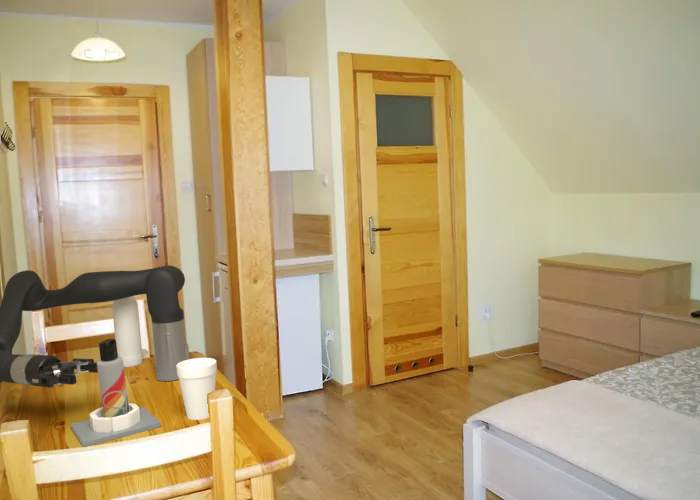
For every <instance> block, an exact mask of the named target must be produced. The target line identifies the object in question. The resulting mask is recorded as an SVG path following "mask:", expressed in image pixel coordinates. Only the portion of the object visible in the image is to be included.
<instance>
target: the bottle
mask: <svg viewBox="0 0 700 500" xmlns="http://www.w3.org/2000/svg"><path fill="white" fill-rule="evenodd" d="M111 306H112V307H111V308H112V317H113V319H112V321H113V327H114V328H113V329H114V339H115V340H116V344H117V352H118V356H119V357H122V359H123V365H124V368H133V367H137V366H139V365H141V364H143V363H144V362H143V361H144V360H143V357H144V355H143V350H142V337H141V327H140V326H141V325H140V315H139V303H138V301H137V299H136V297H135V296H131V297H127V298H123V299H119V300H114V301H112V305H111Z"/></svg>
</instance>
